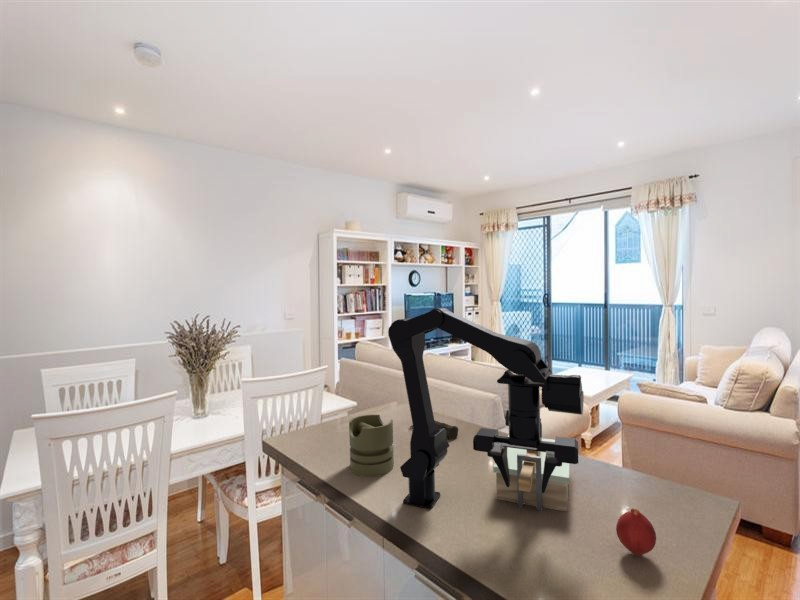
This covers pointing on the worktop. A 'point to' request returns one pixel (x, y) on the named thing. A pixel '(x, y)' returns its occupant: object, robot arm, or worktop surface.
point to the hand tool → (448, 429)
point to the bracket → (538, 478)
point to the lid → (557, 475)
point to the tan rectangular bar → (527, 474)
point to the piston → (371, 446)
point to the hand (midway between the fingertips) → (525, 489)
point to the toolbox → (534, 493)
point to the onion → (636, 532)
